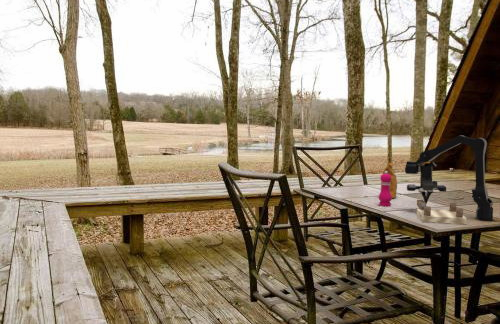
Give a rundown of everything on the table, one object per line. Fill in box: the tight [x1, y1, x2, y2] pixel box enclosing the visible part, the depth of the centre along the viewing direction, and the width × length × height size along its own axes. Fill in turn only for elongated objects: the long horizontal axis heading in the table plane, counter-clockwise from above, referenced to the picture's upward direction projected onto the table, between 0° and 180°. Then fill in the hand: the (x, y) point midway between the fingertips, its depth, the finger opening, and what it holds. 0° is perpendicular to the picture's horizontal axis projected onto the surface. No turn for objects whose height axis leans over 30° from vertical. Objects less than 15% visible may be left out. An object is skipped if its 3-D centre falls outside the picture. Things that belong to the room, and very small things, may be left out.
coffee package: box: [380, 162, 398, 199], centre depth 266 cm, size 10×12×22 cm
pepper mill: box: [378, 171, 393, 207], centre depth 239 cm, size 7×7×20 cm
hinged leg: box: [416, 199, 427, 210], centre depth 218 cm, size 12×3×3 cm, turn 166°
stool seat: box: [416, 202, 467, 225], centre depth 205 cm, size 19×19×7 cm
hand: (425, 204), depth 221 cm, fingers closed
